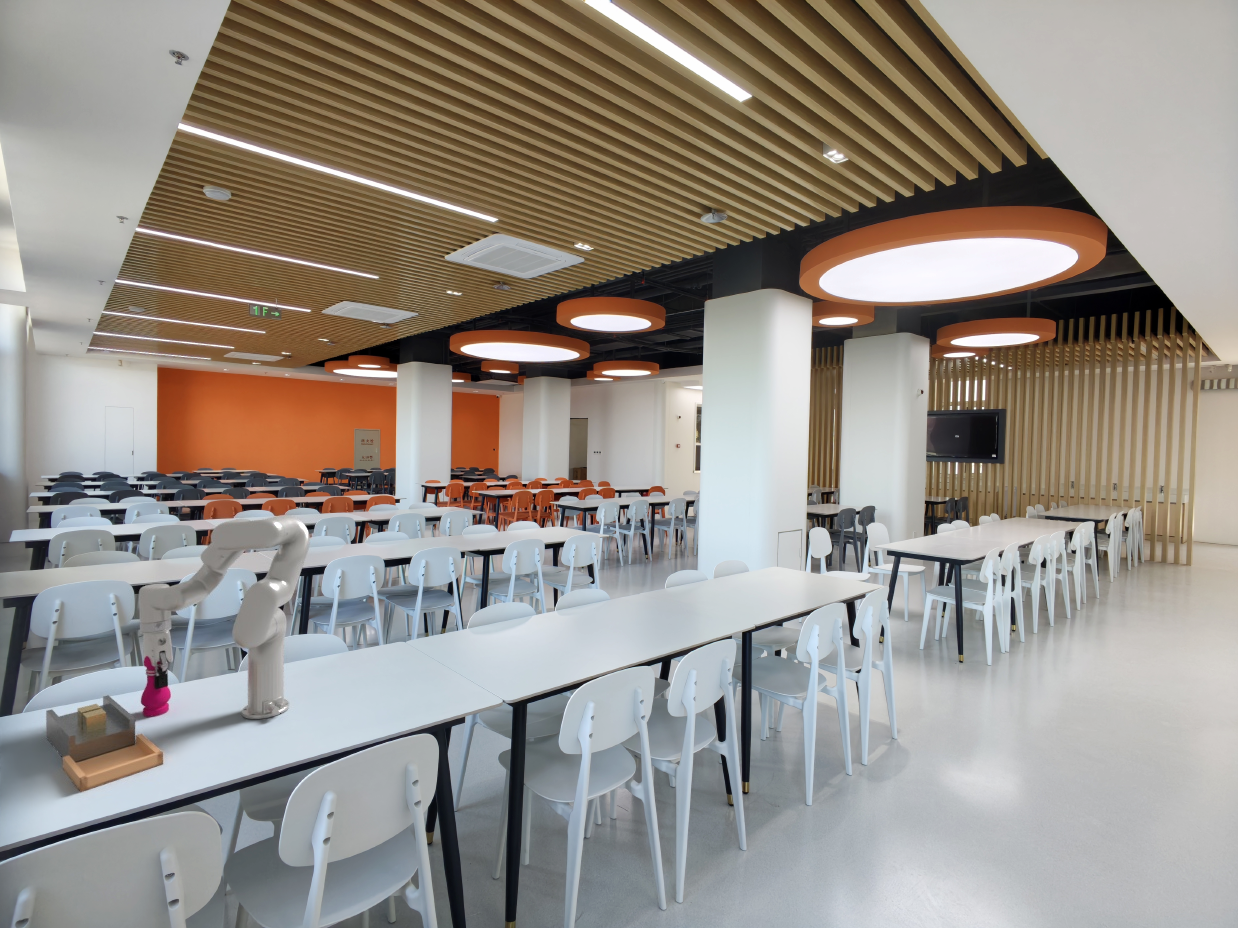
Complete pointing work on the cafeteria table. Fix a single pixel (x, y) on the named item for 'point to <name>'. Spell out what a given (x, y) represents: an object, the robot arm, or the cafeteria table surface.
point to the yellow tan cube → (85, 710)
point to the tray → (113, 764)
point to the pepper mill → (154, 693)
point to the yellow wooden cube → (94, 720)
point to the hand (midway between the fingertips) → (157, 684)
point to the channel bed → (91, 733)
